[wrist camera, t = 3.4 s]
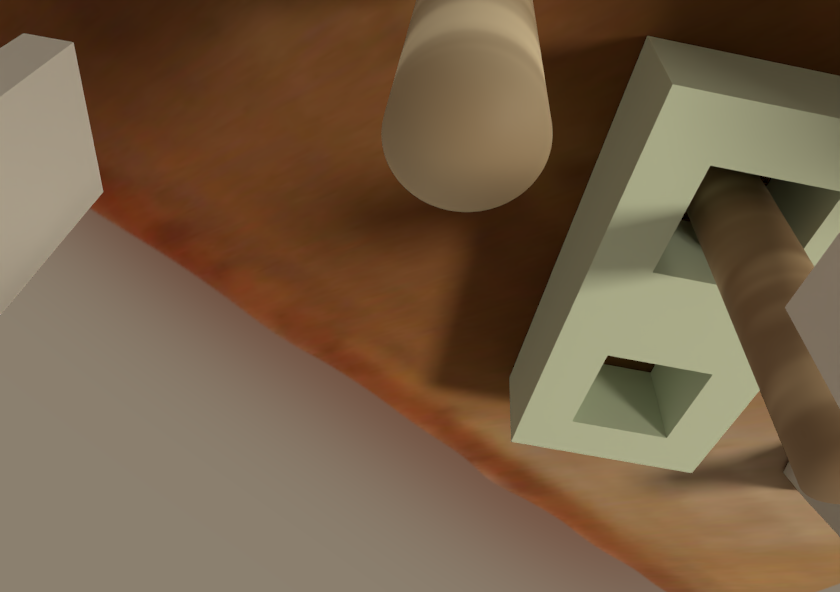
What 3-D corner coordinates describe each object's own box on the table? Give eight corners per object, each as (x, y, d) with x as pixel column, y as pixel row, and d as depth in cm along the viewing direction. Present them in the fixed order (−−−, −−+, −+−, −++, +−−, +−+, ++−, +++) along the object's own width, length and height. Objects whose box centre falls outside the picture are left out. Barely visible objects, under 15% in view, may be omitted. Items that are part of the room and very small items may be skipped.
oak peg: (694, 136, 27) (842, 428, 15) (763, 150, 27) (959, 449, 16) (663, 196, 29) (775, 493, 17) (728, 208, 29) (879, 512, 18)
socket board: (647, 35, 24) (672, 84, 21) (897, 87, 25) (961, 143, 21) (509, 377, 37) (511, 441, 34) (673, 407, 38) (691, 473, 35)
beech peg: (445, -121, 21) (394, 38, 10) (532, -102, 22) (576, 75, 10) (429, -26, 23) (371, 195, 12) (508, -9, 24) (525, 224, 12)
